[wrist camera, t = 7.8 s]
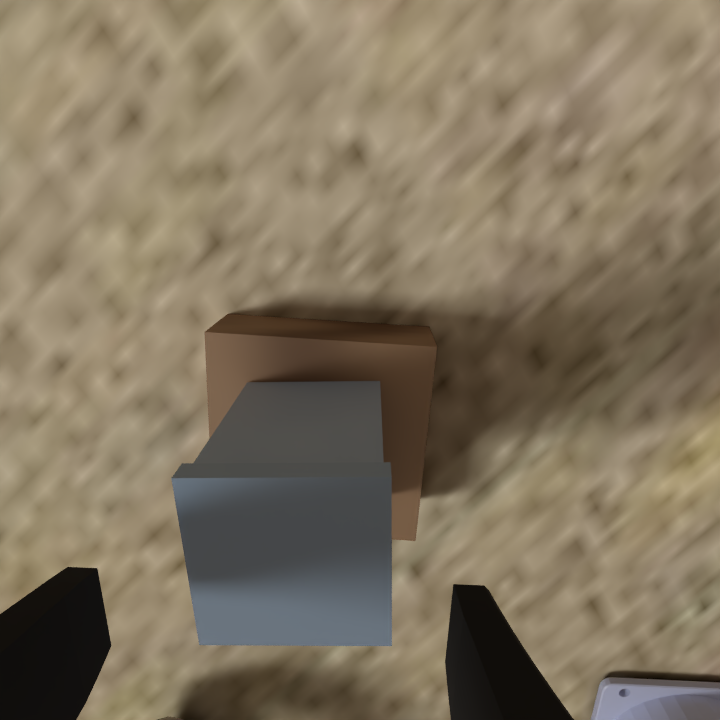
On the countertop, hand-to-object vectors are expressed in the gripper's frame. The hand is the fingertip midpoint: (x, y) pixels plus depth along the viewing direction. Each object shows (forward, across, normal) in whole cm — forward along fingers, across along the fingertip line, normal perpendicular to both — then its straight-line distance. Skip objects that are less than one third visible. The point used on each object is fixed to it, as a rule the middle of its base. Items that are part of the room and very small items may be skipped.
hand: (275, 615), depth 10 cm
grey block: (+7, 0, 0) cm, 7 cm away
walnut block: (+10, 0, 0) cm, 10 cm away
